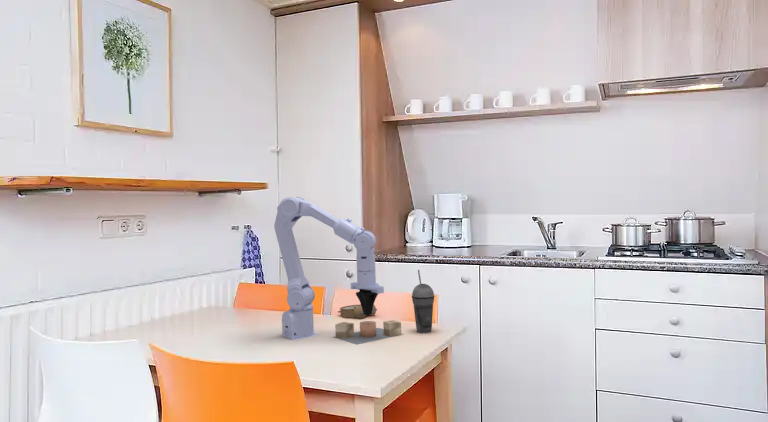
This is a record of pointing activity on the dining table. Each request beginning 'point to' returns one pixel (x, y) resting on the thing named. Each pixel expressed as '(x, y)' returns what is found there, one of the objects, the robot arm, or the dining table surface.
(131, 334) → the dining table surface
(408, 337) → the dining table surface
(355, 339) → the slate mat
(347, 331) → the birch cube
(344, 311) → the alarm clock
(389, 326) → the birch cube
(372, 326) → the tan rounded piece
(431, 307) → the beverage cup
